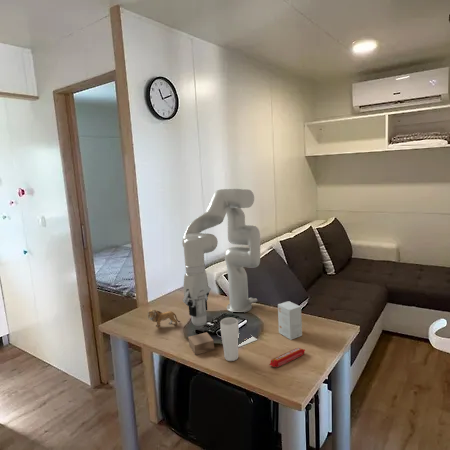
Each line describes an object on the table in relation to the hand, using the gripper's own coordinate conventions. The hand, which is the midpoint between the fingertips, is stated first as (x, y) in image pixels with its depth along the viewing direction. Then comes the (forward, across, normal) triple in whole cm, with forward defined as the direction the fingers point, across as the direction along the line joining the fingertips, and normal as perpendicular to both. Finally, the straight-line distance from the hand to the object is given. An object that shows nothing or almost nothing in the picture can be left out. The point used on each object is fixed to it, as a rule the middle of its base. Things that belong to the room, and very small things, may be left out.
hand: (198, 312), depth 145 cm
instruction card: (+15, -13, +10) cm, 22 cm away
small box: (+15, -28, +25) cm, 41 cm away
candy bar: (+16, -10, +34) cm, 39 cm away
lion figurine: (+15, -6, -28) cm, 33 cm away
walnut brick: (+15, 0, 0) cm, 15 cm away
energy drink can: (+5, 0, 0) cm, 5 cm away
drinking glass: (+16, 0, +15) cm, 22 cm away
